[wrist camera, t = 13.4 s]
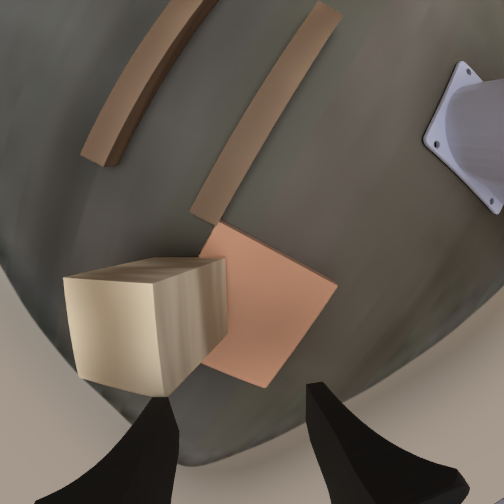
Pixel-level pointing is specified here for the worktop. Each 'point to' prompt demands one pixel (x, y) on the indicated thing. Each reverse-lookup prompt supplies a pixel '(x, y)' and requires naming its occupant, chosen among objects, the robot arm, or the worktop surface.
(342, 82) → the worktop surface
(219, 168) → the slot rack
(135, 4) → the worktop surface
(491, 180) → the robot arm
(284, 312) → the terracotta tile
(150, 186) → the worktop surface
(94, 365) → the birch block
